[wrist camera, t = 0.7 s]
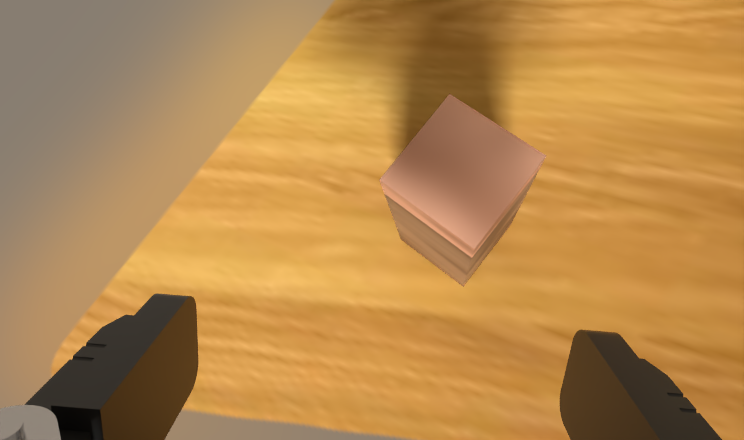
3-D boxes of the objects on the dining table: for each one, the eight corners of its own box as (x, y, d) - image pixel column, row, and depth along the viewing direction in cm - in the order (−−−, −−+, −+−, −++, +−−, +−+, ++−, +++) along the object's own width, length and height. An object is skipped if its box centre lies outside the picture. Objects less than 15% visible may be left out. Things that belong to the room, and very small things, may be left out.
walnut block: (447, 181, 34) (449, 93, 23) (510, 225, 33) (546, 155, 21) (401, 239, 34) (379, 179, 22) (463, 286, 32) (474, 249, 21)
